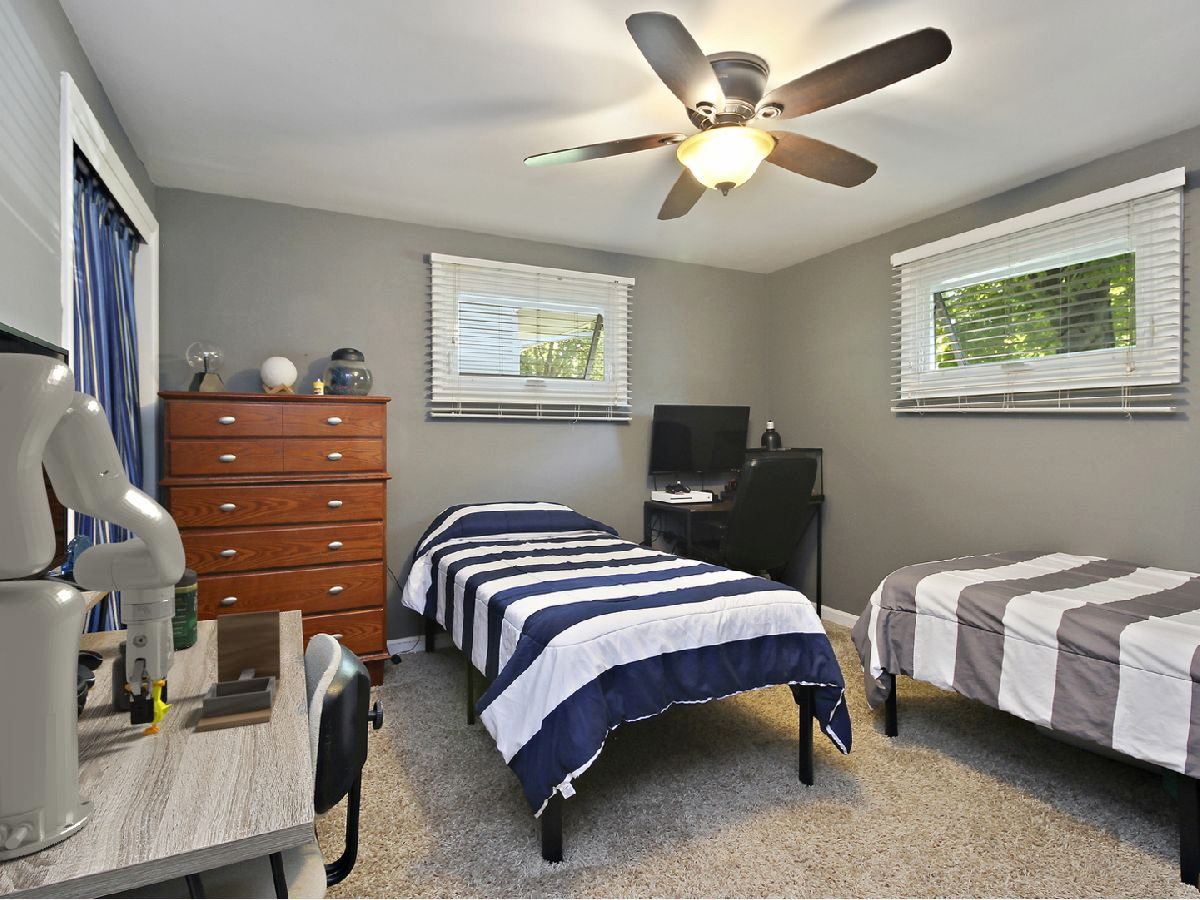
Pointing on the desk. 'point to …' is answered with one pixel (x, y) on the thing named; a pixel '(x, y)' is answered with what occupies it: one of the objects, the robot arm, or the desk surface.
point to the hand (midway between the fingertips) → (149, 712)
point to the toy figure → (155, 706)
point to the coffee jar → (185, 610)
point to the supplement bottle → (120, 681)
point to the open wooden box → (244, 671)
